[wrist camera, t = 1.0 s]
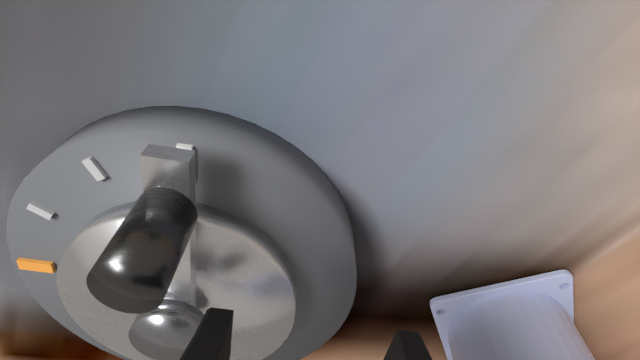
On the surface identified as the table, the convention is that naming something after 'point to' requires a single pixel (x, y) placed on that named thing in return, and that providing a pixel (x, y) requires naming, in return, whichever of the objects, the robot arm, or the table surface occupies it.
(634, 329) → the table surface
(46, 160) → the dial base
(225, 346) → the robot arm
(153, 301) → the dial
